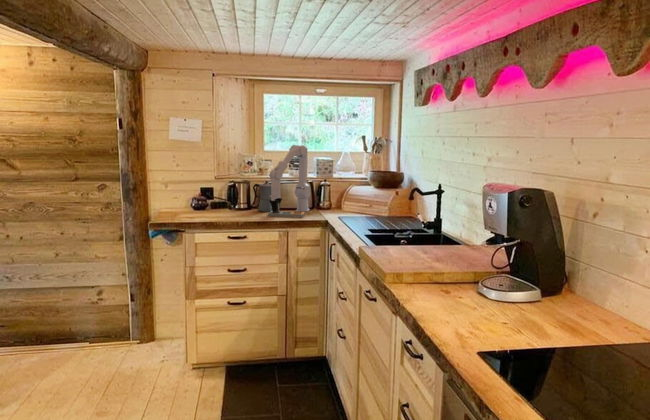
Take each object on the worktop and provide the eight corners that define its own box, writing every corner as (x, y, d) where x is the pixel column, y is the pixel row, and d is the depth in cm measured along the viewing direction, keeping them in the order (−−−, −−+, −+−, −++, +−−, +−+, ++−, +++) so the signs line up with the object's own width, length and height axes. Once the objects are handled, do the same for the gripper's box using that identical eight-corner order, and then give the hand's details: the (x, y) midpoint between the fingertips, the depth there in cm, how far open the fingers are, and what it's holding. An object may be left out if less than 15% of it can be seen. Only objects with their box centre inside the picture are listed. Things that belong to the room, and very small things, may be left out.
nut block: (273, 214, 305) (273, 202, 304) (279, 215, 305) (279, 202, 303) (272, 215, 302) (272, 203, 300) (277, 216, 301) (277, 203, 300)
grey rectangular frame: (271, 214, 308) (271, 210, 307) (305, 215, 304) (305, 212, 304) (268, 216, 300) (268, 212, 299) (302, 217, 297) (302, 214, 296)
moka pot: (275, 212, 314) (275, 182, 311) (251, 212, 314) (251, 181, 311) (276, 210, 323) (276, 180, 320) (254, 209, 324) (253, 180, 320)
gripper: (272, 187, 308) (272, 208, 310) (266, 190, 294) (266, 212, 296) (283, 187, 307) (283, 208, 309) (277, 190, 293) (277, 212, 295)
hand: (275, 210), depth 303 cm, fingers open, 7 cm apart
